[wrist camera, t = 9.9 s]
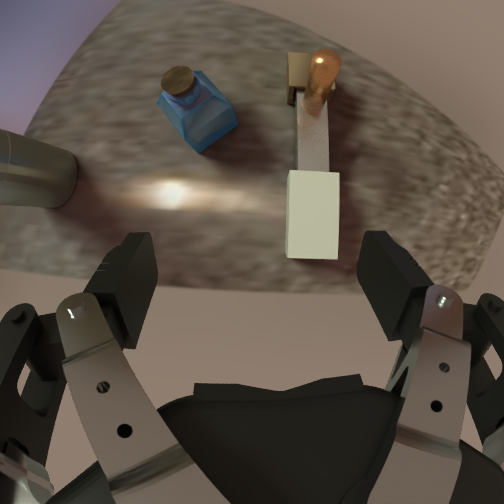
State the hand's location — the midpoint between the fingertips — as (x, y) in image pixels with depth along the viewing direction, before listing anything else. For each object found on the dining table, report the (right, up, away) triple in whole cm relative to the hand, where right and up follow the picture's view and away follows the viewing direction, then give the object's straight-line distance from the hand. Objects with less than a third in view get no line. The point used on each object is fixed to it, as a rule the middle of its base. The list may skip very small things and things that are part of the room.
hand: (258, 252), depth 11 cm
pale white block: (+6, +4, +23) cm, 25 cm away
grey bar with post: (+7, +14, +22) cm, 27 cm away
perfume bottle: (-6, +17, +24) cm, 30 cm away
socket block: (+7, +21, +22) cm, 31 cm away
